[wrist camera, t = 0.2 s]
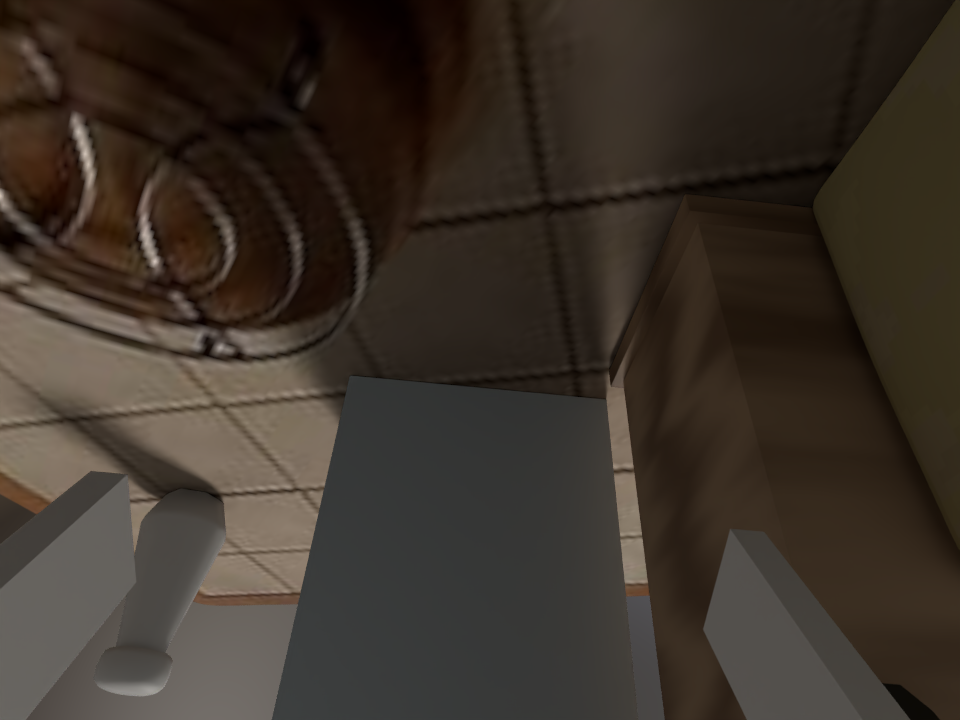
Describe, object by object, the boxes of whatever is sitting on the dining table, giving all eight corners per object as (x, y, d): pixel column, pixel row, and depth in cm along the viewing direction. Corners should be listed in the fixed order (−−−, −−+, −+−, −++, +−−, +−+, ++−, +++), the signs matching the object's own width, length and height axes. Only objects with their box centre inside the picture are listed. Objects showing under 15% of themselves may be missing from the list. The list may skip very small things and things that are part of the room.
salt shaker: (139, 494, 46) (56, 686, 38) (183, 476, 43) (103, 679, 35) (206, 522, 49) (143, 703, 41) (250, 507, 47) (192, 698, 39)
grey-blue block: (349, 375, 33) (223, 935, 19) (606, 399, 33) (662, 958, 20) (359, 450, 39) (268, 912, 25) (574, 469, 40) (600, 930, 26)
